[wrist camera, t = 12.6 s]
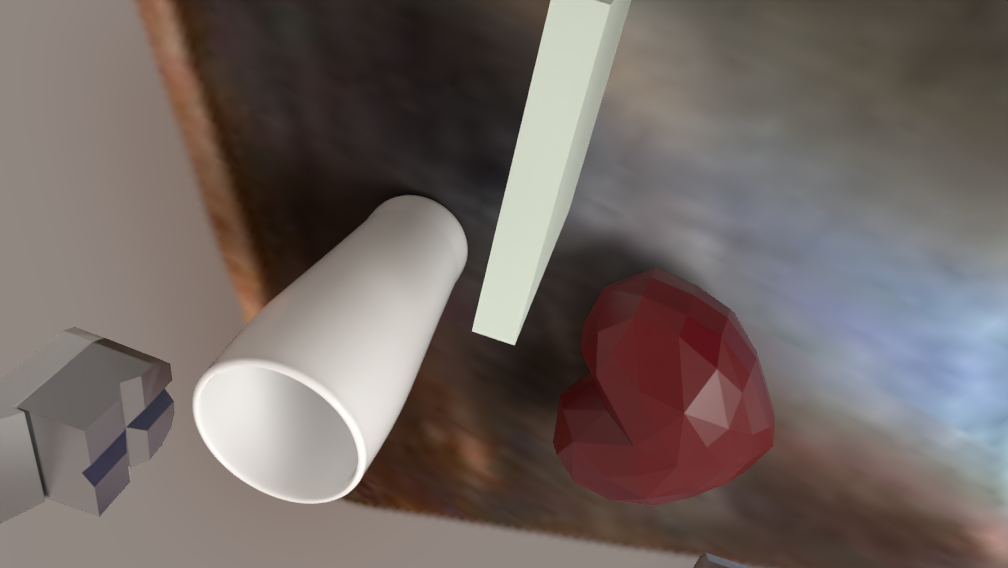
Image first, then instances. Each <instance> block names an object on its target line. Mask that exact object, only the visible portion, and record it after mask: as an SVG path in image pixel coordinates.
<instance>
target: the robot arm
mask: <svg viewBox="0 0 1008 568" xmlns="http://www.w3.org/2000/svg"><path fill="white" fill-rule="evenodd" d="M171 381H172V374H171V366H170V363H167V362H165V361H163V360H160V359H158V358H155V357H153V356H150V355H147V354H145V353H142V352H140V351H137V350H134V349H132V348H129V347H127V346H124V345H122V344H119V343H116V342H114V341H111V340H109V339H106V338H103V337H100V336H98V335H95V334H92V333H90V332H87V331H84V330H81V329H79V328H76V327H73V328H70V329H67V330H64V331H62V332H60V333H59V334H58V335H57V336H55V337H54V338H53V339H51V340H50V341H49V342H48V343H46V344H45V345H44V346H43V347H42V348H40V349H39V350H38V351H36V352H35V353H34V354H33V355H31V356H30V357H29V358H28V359H26V360H25V361H24V362H23V363H21V364H20V365H19V366H18V367H17V368H15V369H14V370H13V371H11V372H10V373H9V374H8V375H6V376H5V377H4V378H3V379H1V380H0V523H3V522H5V521H7V520H9V519H11V518H13V517H15V516H17V515H19V514H21V513H23V512H25V511H27V510H29V509H31V508H33V507H35V506H37V505H39V504H41V503H43V502H45V498H47V499H50V500H53V501H56V502H59V503H61V504H64V505H67V506H70V507H73V508H76V509H79V510H81V511H84V512H87V513H90V514H93V515H96V516H99V517H100V515H102V513H103V512H104V511H105V510H106V509H107V508H108V507H109V505H110V504H111V503H112V502H113V501H114V500H115V498H116V497H117V496H118V495H119V494H120V493H121V492H122V491H123V490H124V489H125V487H126V486H127V485H128V484H129V483H130V467H133V466H135V465H137V464H140V463H143V462H145V461H148V460H150V459H151V458H152V456H153V455H154V454H155V453H156V452H157V451H158V449H159V448H160V447H161V446H162V444H163V442H164V440H165V438H166V436H167V434H168V433H169V430H170V429H171V426H172V422H173V417H174V401H173V400H172V398H171V397H170V395H169V394H168V393H167V391H166V390H165V387H166V386H167V385H168V384H169V383H170V382H171ZM693 568H749V567H746V566H743V565H740V564H737V563H734V562H731V561H728V560H725V559H722V558H719V557H716V556H714V555H711V554H708V553H705V554H703V555H702V556H700V558H699V559H698V561H697V562H696V564H695V565H694V567H693Z"/></svg>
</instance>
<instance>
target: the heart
mask: <svg viewBox="0 0 1008 568" xmlns="http://www.w3.org/2000/svg"><path fill="white" fill-rule="evenodd" d="M581 353H582V356H583V358H584V360H585V362H586V365H587V367H588V369H589V372H590V374H588V375H586V376H584V377H581V378H580V379H579V380H578V381H577V382H576V383H574V384H573V385H572V386H571V387H570V388H569V389H568V390H566V391H565V392H564V393H563V394H562V395H561V396H560V402H559V408H558V415H557V421H556V427H555V433H554V440H553V444H554V447H555V450H556V453H557V456H558V457H559V459H560V460H561V462H562V464H563V465H564V467H565V469H566V470H567V472H568V473H569V475H570V477H571V478H572V480H573V481H574V482H575V483H577V484H579V485H581V486H583V487H585V488H587V489H589V490H591V491H593V492H595V493H597V494H599V495H601V496H603V497H605V498H607V499H609V500H612V501H620V502H628V503H636V504H643V505H651V506H655V505H659V504H664V503H668V502H673V501H677V500H682V499H686V498H691V497H693V496H696V495H698V494H701V493H703V492H706V491H708V490H711V489H713V488H716V487H719V486H721V485H724V484H726V483H728V482H729V481H731V480H732V479H734V478H736V477H737V476H739V475H740V474H742V473H743V472H745V471H746V470H747V469H748V468H749V467H751V466H752V465H753V464H754V463H755V462H756V461H757V460H758V459H759V458H760V457H762V456H763V455H764V454H765V453H766V452H767V451H768V450H769V449H770V448H771V447H773V438H774V411H773V407H772V403H771V400H770V396H769V393H768V389H767V386H766V382H765V379H764V376H763V372H762V369H761V365H760V362H759V358H758V355H757V351H756V350H755V348H754V347H753V345H752V343H751V342H750V340H749V338H748V336H747V335H746V333H745V331H744V329H743V328H742V326H741V324H740V322H739V320H738V319H737V317H736V315H735V313H734V312H733V311H731V310H730V309H729V308H728V307H726V306H725V305H723V304H722V303H720V302H719V301H718V300H716V299H715V298H713V297H712V296H711V295H709V294H708V293H706V292H705V291H703V290H702V289H701V288H699V287H698V286H696V285H693V284H691V283H689V282H687V281H685V280H683V279H681V278H678V277H676V276H674V275H672V274H670V273H668V272H665V271H663V270H661V269H659V268H657V267H656V268H653V269H650V270H648V271H645V272H642V273H639V274H636V275H633V276H630V277H627V278H624V279H621V280H619V281H616V282H613V283H610V284H609V285H607V286H606V287H604V288H603V289H602V290H601V292H600V294H599V296H598V298H597V300H596V302H595V304H594V305H593V307H592V309H591V311H590V313H589V315H588V317H587V319H586V321H585V323H584V325H583V329H582V351H581Z"/></svg>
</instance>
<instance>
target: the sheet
mask: <svg viewBox="0 0 1008 568" xmlns="http://www.w3.org/2000/svg"><path fill="white" fill-rule="evenodd" d="M630 3H631V0H551V1H550V5H549V9H548V13H547V18H546V22H545V26H544V30H543V34H542V39H541V43H540V47H539V51H538V55H537V60H536V64H535V68H534V72H533V77H532V81H531V85H530V89H529V93H528V98H527V102H526V106H525V110H524V114H523V119H522V123H521V127H520V131H519V135H518V140H517V144H516V148H515V152H514V156H513V161H512V165H511V169H510V173H509V177H508V182H507V186H506V190H505V194H504V199H503V203H502V207H501V211H500V215H499V220H498V224H497V228H496V232H495V236H494V241H493V245H492V249H491V253H490V257H489V262H488V266H487V270H486V274H485V278H484V283H483V287H482V291H481V295H480V300H479V304H478V308H477V312H476V316H475V321H474V325H473V329H472V331H473V332H476V333H479V334H482V335H485V336H488V337H491V338H494V339H497V340H500V341H503V342H506V343H509V344H512V345H515V343H516V341H517V338H518V336H519V333H520V331H521V328H522V326H523V323H524V321H525V318H526V316H527V313H528V311H529V308H530V306H531V303H532V301H533V299H534V296H535V294H536V291H537V289H538V286H539V284H540V281H541V279H542V276H543V274H544V271H545V269H546V266H547V264H548V261H549V259H550V256H551V254H552V252H553V249H554V247H555V244H556V242H557V239H558V237H559V234H560V232H561V229H562V227H563V224H564V222H565V219H566V217H567V214H568V212H569V209H570V206H571V202H572V199H573V196H574V192H575V189H576V185H577V182H578V179H579V175H580V172H581V169H582V165H583V162H584V158H585V155H586V152H587V148H588V145H589V142H590V138H591V135H592V131H593V128H594V125H595V121H596V118H597V115H598V111H599V108H600V104H601V101H602V98H603V94H604V91H605V88H606V84H607V81H608V77H609V74H610V71H611V67H612V64H613V61H614V57H615V54H616V51H617V47H618V44H619V40H620V37H621V34H622V30H623V27H624V24H625V20H626V17H627V13H628V10H629V7H630Z"/></svg>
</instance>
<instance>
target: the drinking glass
mask: <svg viewBox="0 0 1008 568" xmlns="http://www.w3.org/2000/svg"><path fill="white" fill-rule="evenodd" d="M467 254H468V247H467V240H466V236H465V233H464V231H463V229H462V227H461V225H460V223H459V222H458V220H457V219H456V218H455V216H454V215H453V214H452V213H451V212H450V211H449V210H448V209H446V208H445V207H444V206H442V205H441V204H439V203H437V202H436V201H434V200H431V199H429V198H426V197H422V196H416V195H403V196H397V197H394V198H391V199H389V200H387V201H385V202H384V203H382V204H381V205H380V206H378V207H377V208H376V209H375V210H374V211H373V213H372V214H371V215H370V216H369V217H368V218H367V219H366V220H365V221H364V222H363V223H362V224H361V225H360V226H359V227H358V228H356V229H355V230H354V231H353V232H352V233H351V234H349V235H348V236H347V237H346V238H345V239H344V240H342V241H341V242H340V243H339V244H338V245H337V246H335V247H334V248H333V249H332V250H331V251H329V252H328V253H327V254H326V255H325V256H324V257H322V258H321V259H320V260H319V261H318V262H316V263H315V264H314V265H313V266H312V267H310V268H309V269H308V270H307V271H306V272H304V273H303V274H302V275H301V276H300V277H298V278H297V279H296V280H295V281H294V282H292V283H291V284H290V285H289V286H288V287H286V288H285V289H284V290H283V291H282V292H281V293H279V294H278V295H277V296H276V297H275V298H274V299H273V300H271V301H270V302H269V303H268V304H267V305H266V306H265V307H264V308H263V309H262V310H260V311H259V312H258V313H257V314H256V315H255V316H254V317H253V318H252V319H251V320H250V321H249V322H248V323H247V324H246V325H245V326H244V327H243V328H242V330H241V331H240V332H239V333H238V334H237V335H236V336H235V337H234V338H233V339H232V341H231V342H230V343H229V344H228V345H227V346H226V347H225V349H224V350H223V351H222V352H221V354H220V355H219V356H218V357H217V358H216V360H215V361H214V362H213V363H212V364H211V366H210V367H209V368H208V369H207V370H206V371H205V373H204V374H203V375H202V376H201V377H200V379H199V381H198V382H197V384H196V387H195V389H194V393H193V400H192V409H193V416H194V420H195V423H196V426H197V429H198V431H199V433H200V435H201V437H202V439H203V441H204V442H205V444H206V445H207V447H208V448H209V450H210V451H211V452H212V454H213V455H214V456H215V457H216V458H217V459H218V461H220V463H221V464H222V465H223V466H224V467H226V468H227V469H228V470H229V471H230V472H231V473H232V474H234V475H235V476H236V477H238V478H239V479H241V480H242V481H244V482H245V483H247V484H248V485H250V486H252V487H253V488H255V489H257V490H259V491H261V492H264V493H266V494H268V495H271V496H273V497H276V498H279V499H283V500H287V501H292V502H297V503H308V504H310V503H311V504H312V503H313V504H316V503H323V502H329V501H333V500H336V499H338V498H341V497H343V496H344V495H346V494H348V493H349V492H350V491H351V490H353V489H354V488H355V487H356V486H357V484H358V483H359V482H360V480H361V479H362V477H363V475H364V473H365V472H366V470H367V469H368V467H369V466H370V464H371V463H372V461H373V460H374V458H375V456H376V455H377V453H378V452H379V450H380V448H381V447H382V445H383V443H384V442H385V440H386V438H387V436H388V435H389V433H390V431H391V429H392V427H393V426H394V424H395V422H396V420H397V418H398V416H399V414H400V412H401V410H402V408H403V406H404V404H405V402H406V399H407V397H408V395H409V393H410V390H411V388H412V386H413V383H414V381H415V379H416V376H417V374H418V371H419V369H420V366H421V364H422V361H423V359H424V357H425V354H426V352H427V349H428V347H429V344H430V342H431V339H432V337H433V335H434V332H435V330H436V327H437V325H438V323H439V320H440V318H441V315H442V313H443V311H444V308H445V306H446V303H447V301H448V299H449V296H450V294H451V292H452V290H453V287H454V285H455V284H456V282H457V280H458V278H459V277H460V275H461V273H462V271H463V269H464V267H465V264H466V260H467Z"/></svg>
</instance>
